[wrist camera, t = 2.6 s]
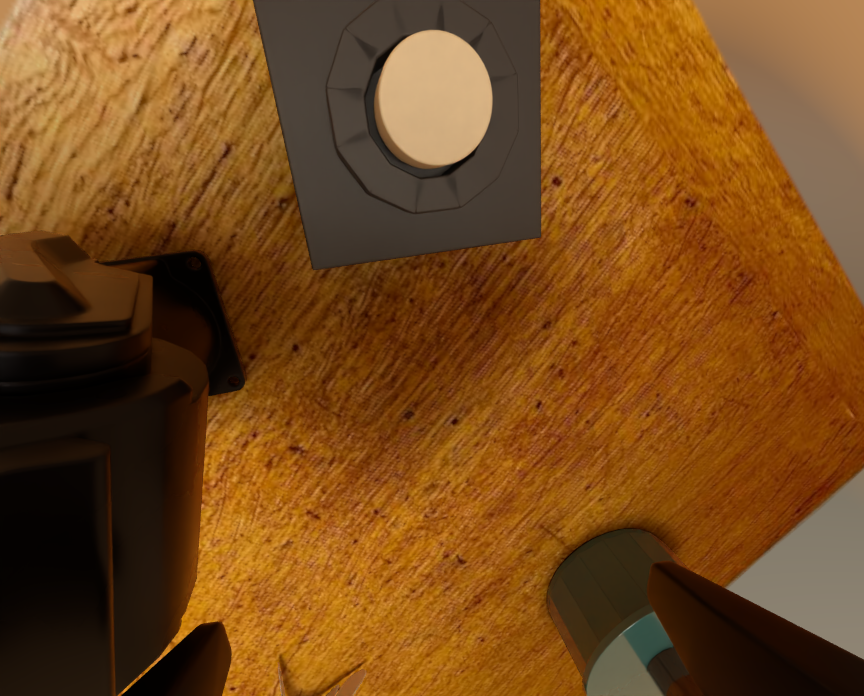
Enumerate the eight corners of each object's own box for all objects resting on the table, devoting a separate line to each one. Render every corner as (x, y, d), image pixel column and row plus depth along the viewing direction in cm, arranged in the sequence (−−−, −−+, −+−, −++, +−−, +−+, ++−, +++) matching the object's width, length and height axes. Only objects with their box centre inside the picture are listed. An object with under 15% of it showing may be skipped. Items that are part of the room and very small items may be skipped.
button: (364, 52, 13) (368, 31, 11) (472, 46, 13) (490, 25, 12) (382, 174, 14) (388, 171, 12) (478, 163, 15) (496, 159, 13)
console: (255, -16, 14) (226, -89, 11) (515, -23, 16) (568, -90, 12) (315, 262, 18) (309, 279, 14) (520, 233, 20) (562, 241, 16)
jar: (546, 549, 28) (591, 624, 23) (672, 513, 30) (739, 577, 25) (546, 642, 32) (584, 723, 27) (658, 606, 33) (713, 676, 29)
